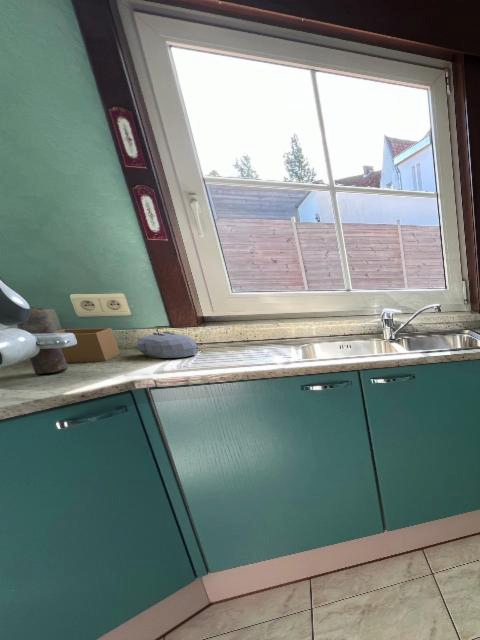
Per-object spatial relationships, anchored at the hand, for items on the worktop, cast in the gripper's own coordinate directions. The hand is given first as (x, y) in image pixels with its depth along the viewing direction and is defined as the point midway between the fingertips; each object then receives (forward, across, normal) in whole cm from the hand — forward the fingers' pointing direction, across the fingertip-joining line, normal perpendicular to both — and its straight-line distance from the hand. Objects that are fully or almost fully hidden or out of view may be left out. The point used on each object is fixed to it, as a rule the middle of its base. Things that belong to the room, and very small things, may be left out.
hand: (40, 337), depth 152 cm
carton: (+22, -1, +11) cm, 25 cm away
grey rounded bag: (+20, -25, +11) cm, 34 cm away
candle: (-1, 0, +11) cm, 11 cm away
